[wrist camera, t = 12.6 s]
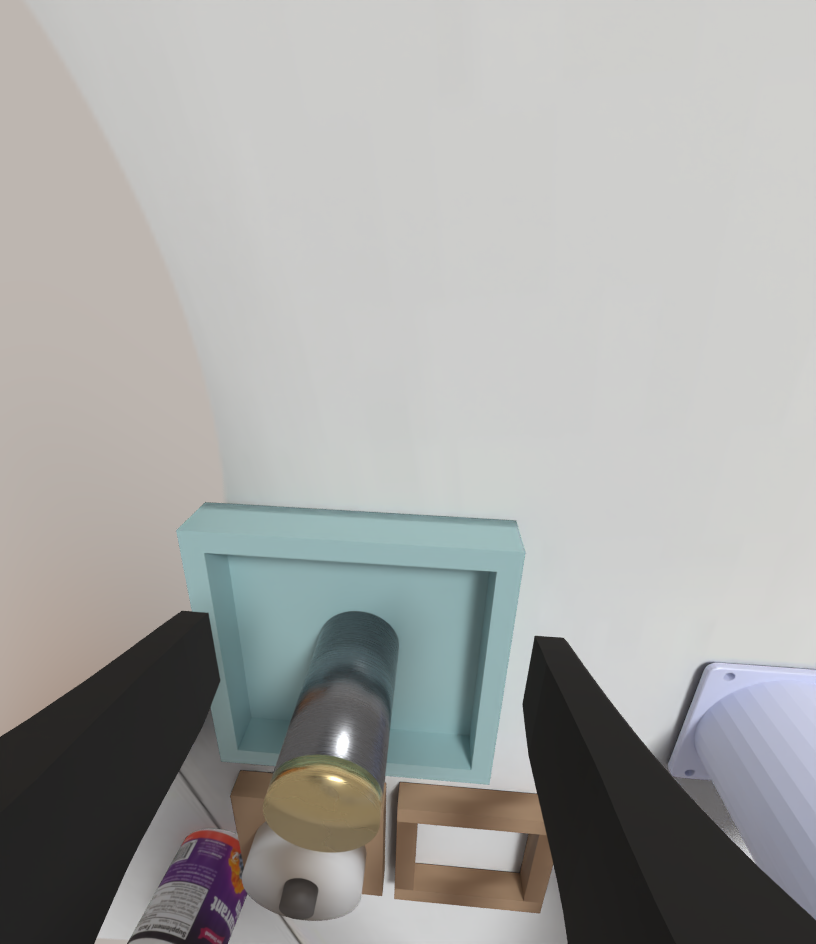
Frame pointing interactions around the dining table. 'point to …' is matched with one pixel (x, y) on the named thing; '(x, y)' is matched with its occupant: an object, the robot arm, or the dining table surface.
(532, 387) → the dining table surface
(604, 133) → the dining table surface
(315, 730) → the tin can
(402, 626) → the tray
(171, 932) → the pill bottle
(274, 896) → the block
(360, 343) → the dining table surface
